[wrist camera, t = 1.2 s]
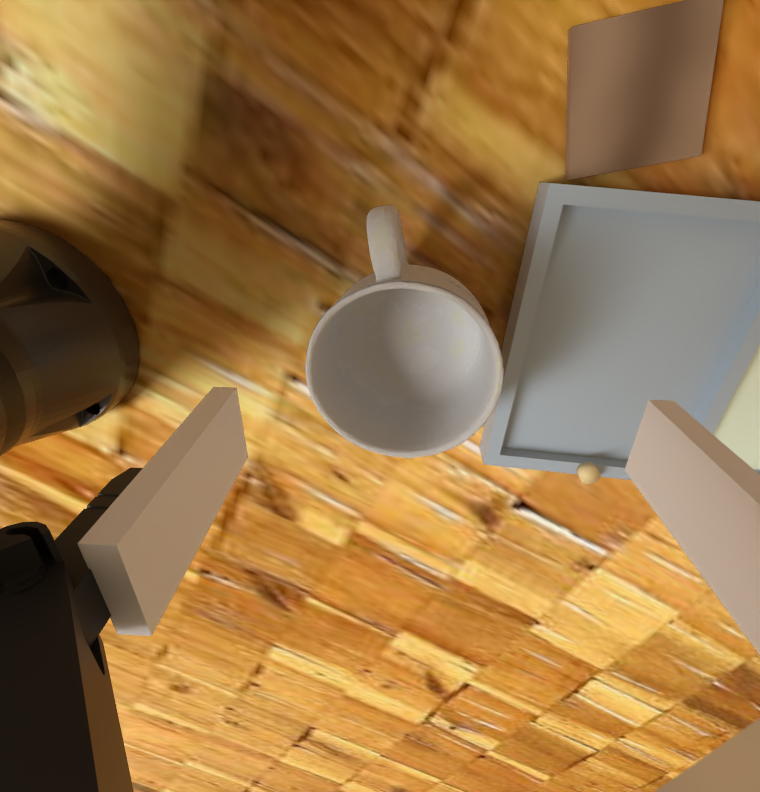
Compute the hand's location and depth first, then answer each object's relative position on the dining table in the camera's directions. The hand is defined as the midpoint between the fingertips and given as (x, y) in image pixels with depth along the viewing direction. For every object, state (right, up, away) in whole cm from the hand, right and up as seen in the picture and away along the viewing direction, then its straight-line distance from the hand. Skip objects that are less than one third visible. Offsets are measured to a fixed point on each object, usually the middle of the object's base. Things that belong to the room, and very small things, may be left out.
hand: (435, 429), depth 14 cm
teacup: (0, +7, +16) cm, 17 cm away
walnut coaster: (+12, +18, +10) cm, 23 cm away
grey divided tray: (+21, +4, +15) cm, 26 cm away
